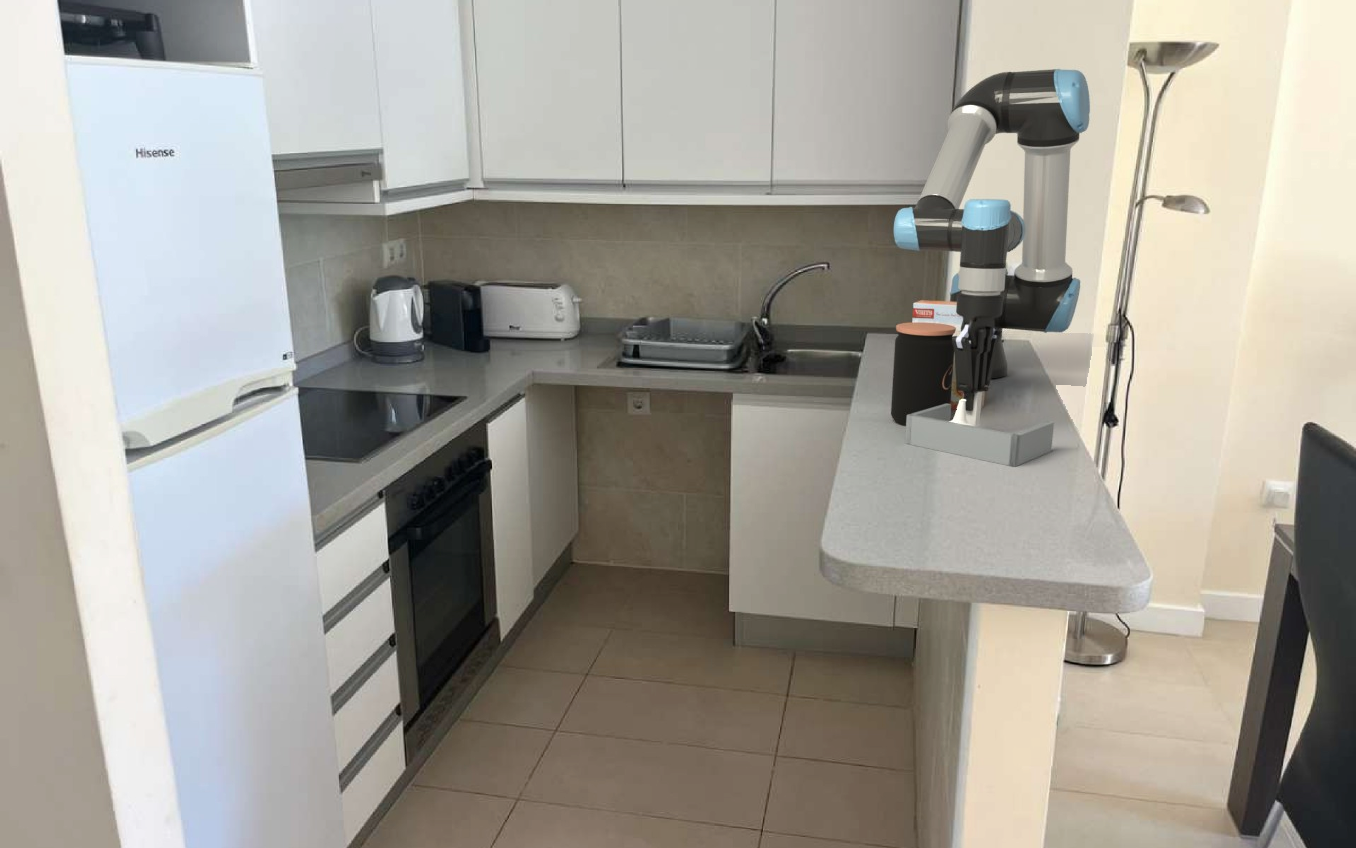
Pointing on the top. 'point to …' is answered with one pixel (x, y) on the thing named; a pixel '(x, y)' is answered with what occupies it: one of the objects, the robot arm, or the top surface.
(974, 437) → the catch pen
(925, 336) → the coffee jar
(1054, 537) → the top surface
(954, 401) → the cracker box
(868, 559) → the top surface
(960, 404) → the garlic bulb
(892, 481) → the top surface
